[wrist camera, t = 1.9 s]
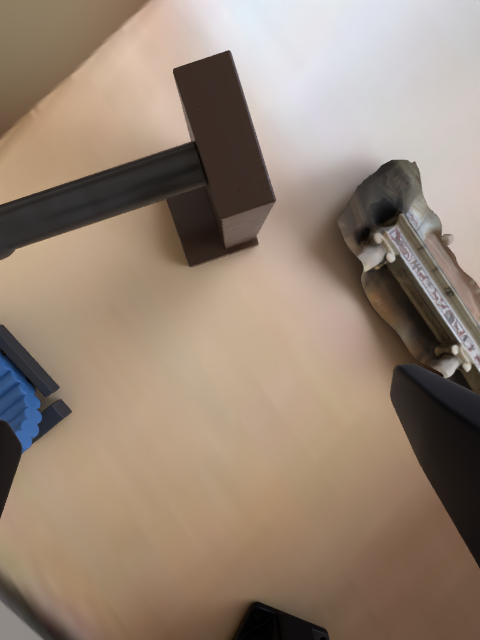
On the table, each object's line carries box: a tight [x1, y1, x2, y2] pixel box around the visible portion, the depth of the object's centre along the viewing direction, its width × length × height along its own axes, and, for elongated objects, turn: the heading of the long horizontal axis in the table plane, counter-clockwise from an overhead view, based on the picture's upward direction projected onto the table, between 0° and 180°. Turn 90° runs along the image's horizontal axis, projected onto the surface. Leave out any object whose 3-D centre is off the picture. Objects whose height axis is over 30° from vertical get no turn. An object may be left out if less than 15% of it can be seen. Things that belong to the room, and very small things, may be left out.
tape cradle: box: [0, 325, 72, 444], centre depth 21 cm, size 9×5×1 cm, turn 39°
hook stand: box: [0, 50, 276, 267], centre depth 16 cm, size 12×6×11 cm, turn 108°
